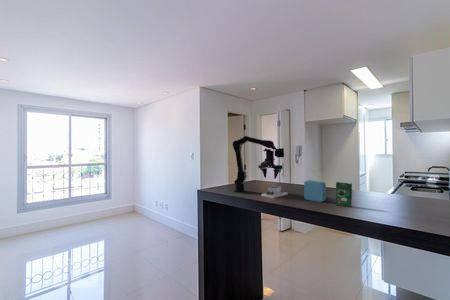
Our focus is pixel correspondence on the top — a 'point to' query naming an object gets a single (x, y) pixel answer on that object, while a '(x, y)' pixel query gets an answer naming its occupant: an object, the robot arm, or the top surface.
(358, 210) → the top surface
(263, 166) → the robot arm
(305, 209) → the top surface
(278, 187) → the drive
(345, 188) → the coffee box
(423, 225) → the top surface
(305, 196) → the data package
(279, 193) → the pin tray
